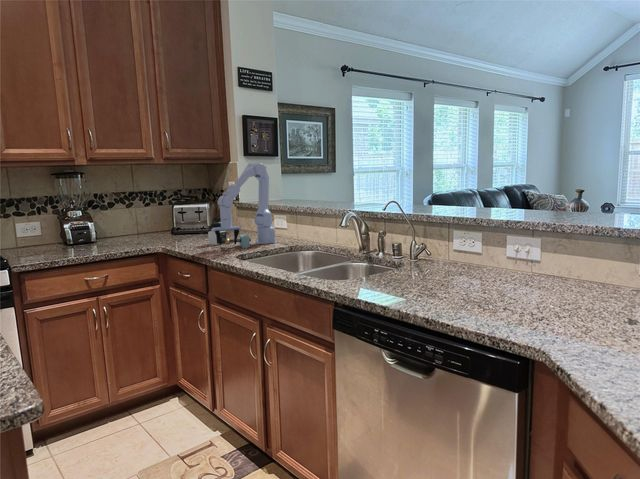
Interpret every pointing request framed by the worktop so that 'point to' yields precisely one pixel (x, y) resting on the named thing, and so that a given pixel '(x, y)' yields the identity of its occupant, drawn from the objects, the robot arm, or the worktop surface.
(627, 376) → the worktop surface
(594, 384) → the worktop surface
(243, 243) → the block
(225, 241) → the t-handle rod
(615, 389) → the worktop surface
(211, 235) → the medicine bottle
